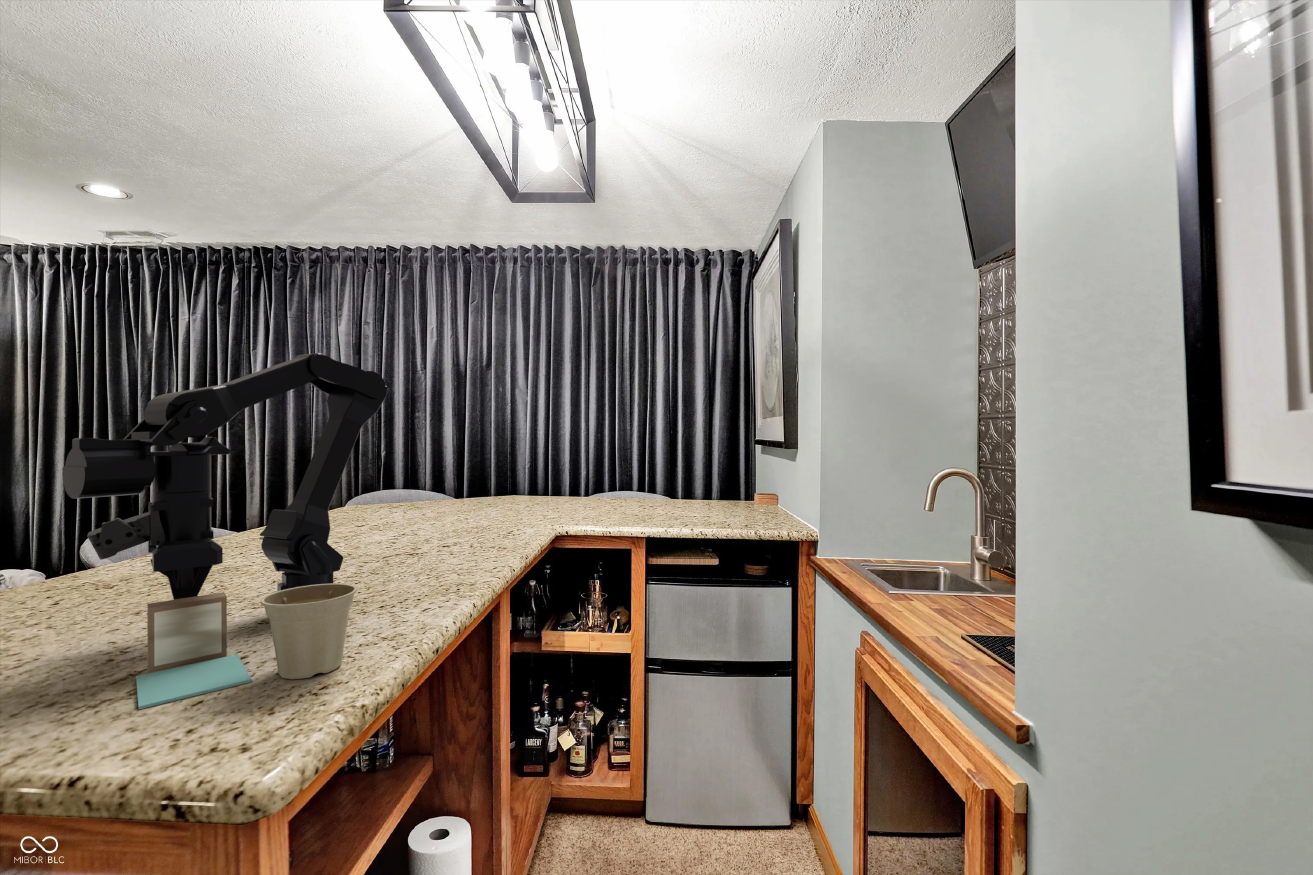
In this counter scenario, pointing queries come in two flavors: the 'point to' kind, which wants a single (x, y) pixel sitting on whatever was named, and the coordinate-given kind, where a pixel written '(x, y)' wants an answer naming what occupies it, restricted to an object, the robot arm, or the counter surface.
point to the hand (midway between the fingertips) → (183, 614)
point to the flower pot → (309, 627)
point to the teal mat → (190, 680)
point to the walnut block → (186, 631)
